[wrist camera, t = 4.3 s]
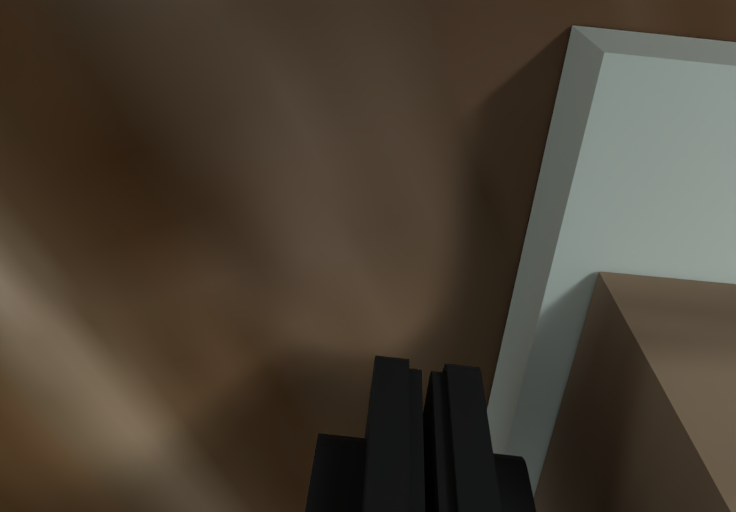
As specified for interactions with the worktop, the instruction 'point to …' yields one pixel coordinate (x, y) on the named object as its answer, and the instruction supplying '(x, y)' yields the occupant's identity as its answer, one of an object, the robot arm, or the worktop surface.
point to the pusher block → (648, 402)
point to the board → (615, 206)
